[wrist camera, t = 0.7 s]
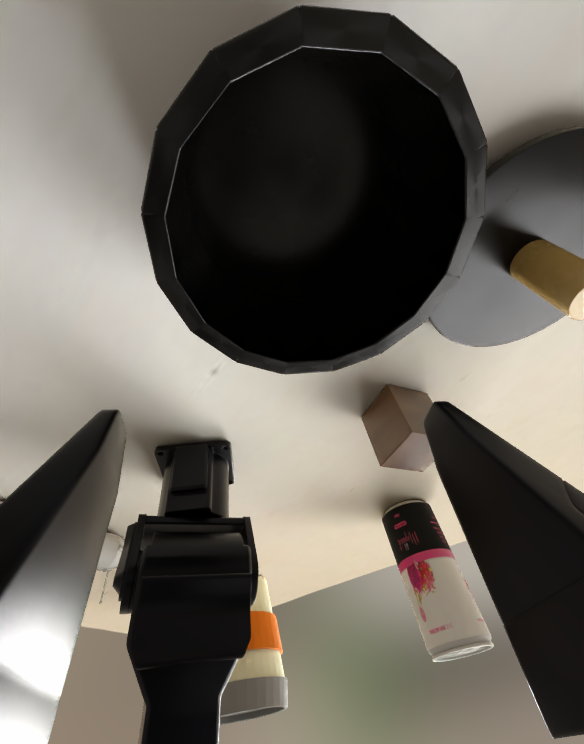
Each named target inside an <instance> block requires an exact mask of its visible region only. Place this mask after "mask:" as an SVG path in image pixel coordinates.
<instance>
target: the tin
mask: <svg viewBox="0 0 584 744" xmlns="http://www.w3.org/2000/svg"><path fill="white" fill-rule="evenodd" d="M486 168H487V140H486V137H485V135H484V132H483V129H482V127H481V124H480V122H479V119H478V117H477V114H476V111H475V109H474V106H473V104H472V101H471V99H470V96H469V94H468V91H467V88H466V86H465V83H464V81H463V78H462V76H461V73H460V70H458V68H457V66H456V65H454V64H453V63H452V62H451V61H449V60H448V59H447V58H446V57H445V56H443V55H442V54H441V53H440V52H438V51H437V50H436V49H435V48H433V47H432V46H431V45H430V44H429V43H427V42H426V41H425V40H424V39H422V38H421V37H420V36H419V35H418V34H416V33H415V32H414V31H413V30H411V29H410V28H409V27H408V26H406V25H405V24H404V23H403V22H402V21H400V20H399V19H398V18H397V17H395V16H394V15H391V14H389V13H381V12H370V11H360V10H349V9H339V8H329V7H318V6H308V5H301V6H300V7H299V6H296V7H294V8H292V9H290V10H288V11H286V12H284V13H282V14H280V15H278V16H276V17H274V18H272V19H270V20H268V21H266V22H264V23H262V24H260V25H258V26H256V27H254V28H252V29H250V30H248V31H246V32H244V33H242V34H240V35H238V36H236V37H234V38H232V39H230V40H228V41H227V42H225V43H223V44H221V45H219V46H217V47H215V48H214V49H213V51H212V50H211V51H210V52H209V53H208V54H207V56H206V57H205V59H204V60H203V62H202V63H201V64H200V66H199V67H198V69H197V70H196V71H195V73H194V74H193V76H192V77H191V79H190V80H189V81H188V83H187V84H186V86H185V87H184V89H183V90H182V91H181V93H180V94H179V96H178V97H177V98H176V100H175V101H174V103H173V104H172V106H171V107H170V108H169V110H168V111H167V113H166V114H165V116H164V117H163V118H162V120H161V121H160V123H159V124H158V125H157V130H156V131H155V136H154V141H153V147H152V152H151V158H150V163H149V169H148V174H147V180H146V185H145V190H144V196H143V201H142V207H141V211H142V213H141V216H142V221H143V225H144V229H145V234H146V238H147V242H148V247H149V251H150V256H151V260H152V264H153V269H154V273H155V278H156V281H157V284H158V285H159V286H160V288H161V289H162V291H163V292H164V294H165V295H166V297H167V298H168V299H169V301H170V302H171V304H172V305H173V307H174V308H175V309H176V311H177V312H178V314H179V315H180V317H181V318H182V319H183V321H184V322H185V324H186V325H187V327H188V328H189V329H190V331H191V332H193V333H194V334H195V335H197V336H198V337H200V338H201V339H203V340H204V341H206V342H207V343H209V344H210V345H212V346H213V347H214V348H216V349H217V350H219V351H220V352H222V353H223V354H225V355H226V356H228V357H229V358H231V359H232V360H234V361H236V362H237V363H241V364H245V365H249V366H253V367H257V368H261V369H264V370H268V371H272V372H276V373H280V374H300V373H317V372H332V371H336V370H338V369H341V368H344V367H347V366H350V365H352V364H355V363H358V362H361V361H363V360H366V359H369V358H372V357H374V356H377V355H379V354H381V353H383V352H384V351H385V350H387V349H388V348H390V347H391V346H392V345H394V344H395V343H397V342H398V341H399V340H401V339H402V338H403V337H405V336H406V335H408V334H409V333H410V332H412V331H413V330H415V329H416V328H417V327H419V326H420V325H422V324H423V323H424V322H425V321H426V320H427V318H428V317H429V316H430V315H431V313H432V312H433V311H434V310H435V308H436V307H437V306H438V305H439V303H440V302H441V301H442V300H443V298H444V297H445V296H446V295H447V293H448V292H449V291H450V290H451V288H452V287H453V286H454V285H455V283H456V282H457V281H458V280H459V278H460V276H461V274H462V272H463V269H464V267H465V264H466V262H467V259H468V257H469V254H470V252H471V249H472V247H473V244H474V241H475V239H476V236H477V234H478V231H479V229H480V226H481V224H482V221H483V219H484V216H483V215H484V214H485V193H486Z"/></svg>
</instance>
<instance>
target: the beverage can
mask: <svg viewBox="0 0 584 744" xmlns="http://www.w3.org/2000/svg"><path fill="white" fill-rule="evenodd" d="M382 522H383V525H384V527H385V530H386V533H387V536H388V539H389V542H390V545H391V548H392V550H393V553H394V556H395V559H396V562H397V565H398V568H399V570H400V573H401V576H402V579H403V582H404V585H405V588H406V591H407V593H408V596H409V599H410V602H411V605H412V608H413V611H414V614H415V617H416V619H417V622H418V625H419V628H420V631H421V634H422V637H423V640H424V642H425V645H426V648H427V651H428V653H429V654H431V655H432V656H433V657H432V660H433V661H434V662H442V661H449V660H454V659H459V658H463V657H467V656H471V655H474V654H478V653H481V652H484V651H486V650H489V649H491V648H493V647H494V645H493V643H492V642H491V634H490V632H489V630H488V628H487V626H486V624H485V621H484V619H483V617H482V615H481V613H480V611H479V609H478V607H477V604H476V603H475V600H474V598H473V596H472V594H471V592H470V590H469V587H468V585H467V583H466V581H465V579H464V577H463V575H462V573H461V570H460V569H459V566H458V564H457V562H456V560H455V558H454V556H453V553H452V551H451V549H450V547H449V545H448V543H447V541H446V539H445V536H444V534H443V532H442V530H441V528H440V526H439V524H438V522H437V519H436V517H435V515H434V513H433V511H432V509H431V507H430V505H429V504H427V503H425V502H423V501H420V500H409V501H404V502H401V503H398V504H396V505H394V506H392V507H390V508H389V509H388V510H387V511H386V512H385V514H384V516H383V518H382Z"/></svg>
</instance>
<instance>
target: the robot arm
mask: <svg viewBox="0 0 584 744" xmlns="http://www.w3.org/2000/svg"><path fill="white" fill-rule="evenodd" d="M423 425H424V430H425V433H426V436H427V439H428V442H429V446H430V449H431V452H432V455H433V459H434V462H435V465H436V468H437V471H438V473H439V476H440V478H441V481H442V483H443V485H444V488H445V490H446V492H447V495H448V497H449V499H450V502H451V504H452V506H453V509H454V511H455V513H456V516H457V518H458V520H459V523H460V525H461V527H462V530H463V532H464V534H465V537H466V539H467V541H468V544H469V546H470V548H471V551H472V553H473V555H474V558H475V560H476V562H477V565H478V567H479V569H480V572H481V574H482V576H483V579H484V581H485V583H486V586H487V588H488V590H489V593H490V595H491V597H492V600H493V602H494V604H495V607H496V609H497V611H498V614H499V616H500V618H501V621H502V623H503V624H504V628H505V630H506V633H507V635H508V637H509V640H510V642H511V644H512V647H513V649H514V651H515V654H516V656H517V658H518V661H519V663H520V665H521V668H522V670H523V672H524V675H525V677H526V679H527V682H528V684H529V686H530V689H531V691H532V693H533V696H534V698H535V701H536V703H537V705H538V708H539V710H540V712H541V714H542V717H543V719H544V722H545V724H546V726H547V728H548V730H549V732H550V734H551V736H552V738H554V739H556V738H562V737H569V736H576V735H582V734H584V493H582V492H581V491H579V490H578V489H576V488H575V487H573V486H572V485H570V484H569V483H567V482H566V481H563V480H562V479H561V478H560V477H558V476H557V475H556V474H554V473H553V472H551V471H550V470H548V469H547V468H545V467H544V466H542V465H541V464H539V463H538V462H536V461H535V460H533V459H532V458H530V457H529V456H527V455H526V454H524V453H523V452H522V451H520V450H519V449H517V448H516V447H514V446H513V445H511V444H510V443H508V442H507V441H505V440H504V439H502V438H501V437H499V436H498V435H496V434H495V433H493V432H492V431H490V430H489V429H488V428H486V427H485V426H483V425H482V424H480V423H479V422H477V421H476V420H474V419H473V418H471V417H470V416H468V415H467V414H465V413H464V412H462V411H461V410H459V409H458V408H456V407H455V406H454V405H452V404H451V403H449V402H446V401H438V402H434V403H433V404H432V405H431V407H430V409H429V411H428V412H427V414H426V416H425V418H424V422H423ZM125 442H126V429H125V426H124V423H123V419H122V416H121V413H120V411H119V410H116V409H113V410H102V411H100V412H99V413H97V414H96V415H95V416H94V417H93V418H92V419H91V420H90V421H89V422H88V423H87V424H86V425H85V426H84V427H82V428H81V429H80V430H79V431H78V432H77V433H76V434H75V435H74V436H73V437H72V438H71V439H70V440H69V441H68V442H66V443H65V444H64V445H63V446H62V447H61V448H60V449H59V450H58V451H57V452H56V453H55V454H54V455H53V456H51V457H50V458H49V459H48V460H47V461H46V462H45V463H44V464H43V465H42V466H41V467H40V468H39V469H38V470H36V471H35V472H34V473H33V474H32V475H31V476H30V477H29V478H28V479H27V480H26V481H25V482H24V483H23V484H21V485H20V486H19V487H18V488H17V489H16V490H15V491H14V492H13V493H12V494H11V495H10V496H9V497H8V498H7V499H5V500H4V501H3V502H2V503H1V504H0V744H48V740H49V737H50V733H51V730H52V726H53V723H54V719H55V715H56V712H57V708H58V705H59V698H60V697H61V693H62V690H63V686H64V682H65V679H66V676H67V672H68V668H69V665H70V661H71V658H72V654H73V650H74V647H75V643H76V640H77V636H78V633H79V629H80V626H81V622H82V619H83V615H84V611H85V608H86V604H87V601H88V597H89V594H90V590H91V586H92V583H93V579H94V576H95V572H96V569H97V565H98V562H99V558H100V554H101V551H102V547H103V544H104V540H105V537H106V533H107V529H108V526H109V522H110V519H111V515H112V512H113V508H114V505H115V501H116V497H117V493H118V487H119V481H120V475H121V468H122V461H123V455H124V448H125ZM155 456H156V459H157V462H158V465H159V468H160V470H161V473H162V476H163V484H162V490H161V497H160V503H159V509H158V516H146V515H147V514H139V518H138V522H135V523H134V524H132V525H129V526H128V528H127V532H126V537H125V541H124V546H123V550H122V553H121V557H120V560H119V563H118V567H117V570H116V574H115V577H114V582H113V587H114V589H115V590H116V591H117V593H118V594H119V601H121V606H120V614H129V613H132V614H131V620H130V625H129V631H128V637H127V650H128V653H129V656H130V659H131V661H132V665H133V668H134V671H135V674H136V677H137V680H138V683H139V686H140V689H141V693H142V696H143V698H144V706H143V715H142V721H141V728H140V735H139V742H138V744H219V723H220V703H221V695H222V693H223V691H224V689H225V687H226V684H227V682H228V680H229V678H230V676H231V674H232V671H233V669H234V667H235V665H236V663H237V661H238V659H241V658H243V657H244V655H245V653H246V650H247V648H248V645H249V642H250V639H251V616H250V611H251V606H252V605H253V604H254V602H255V599H256V595H257V589H258V560H257V554H256V548H255V543H254V537H253V532H252V526H251V520H250V517H243V518H229V484H233V483H234V481H235V478H234V469H233V460H232V451H231V443H230V442H228V441H218V442H205V443H193V444H181V445H169V446H159V447H157V448H156V449H155Z"/></svg>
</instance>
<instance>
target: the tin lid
mask: <svg viewBox="0 0 584 744" xmlns="http://www.w3.org/2000/svg"><path fill="white" fill-rule="evenodd" d="M483 216H484V219H483V221H482V224H481V226H480V229H479V231H478V234H477V236H476V239H475V241H474V244H473V247H472V249H471V252H470V254H469V257H468V259H467V262H466V264H465V267H464V269H463V272H462V274H461V276H460V278H459V280H458V281H457V282H456V283H455V285H454V286H453V287H452V288H451V290H450V291H449V292H448V293H447V295H446V296H445V297H444V298H443V300H442V301H441V302H440V303H439V305H438V306H437V307H436V308H435V310H434V311H433V312H432V313H431V315H430V316H429V317H428V319H429V321H430V322H431V324H432V325H433V326H434V327H435V328H436V329H437V331H438V332H439V333H440V334H442V335H443V336H444V337H446V338H447V339H449V340H451V341H453V342H455V343H459V344H462V345H466V346H473V347H488V346H496V345H501V344H506V343H510V342H513V341H516V340H519V339H522V338H525V337H527V336H530V335H532V334H534V333H536V332H538V331H540V330H542V329H544V328H546V327H548V326H549V325H551V324H553V323H555V322H556V321H558V320H559V319H561V318H562V317H564V316H565V315H567V316H569V317H570V318H571V319H574V320H584V126H583V127H572V128H567V129H562V130H558V131H555V132H552V133H549V134H546V135H543V136H540V137H538V138H536V139H534V140H532V141H530V142H528V143H526V144H524V145H522V146H520V147H519V148H517V149H516V150H514V151H512V152H511V153H509V154H507V155H506V156H504V157H503V158H502V159H500V160H499V161H498V162H497V163H495V164H494V165H493V166H491V167H490V168H489V169H488V170H486V193H485V214H484V215H483Z"/></svg>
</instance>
